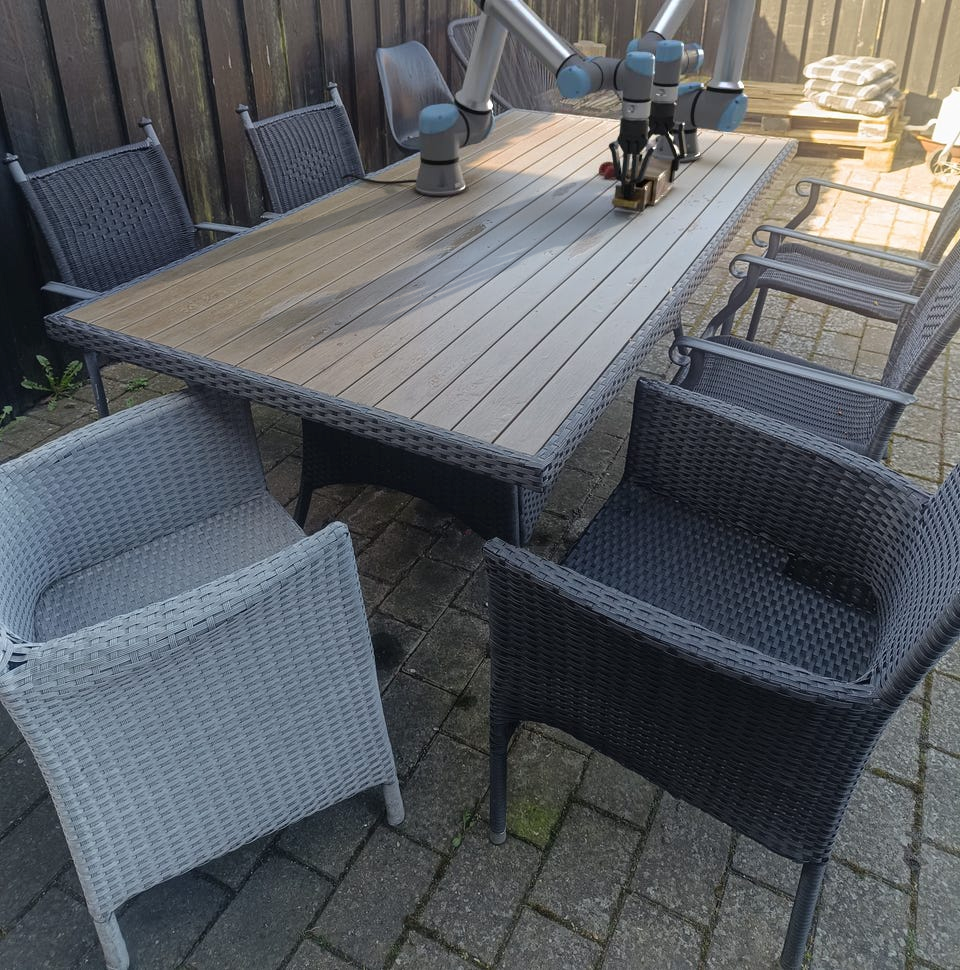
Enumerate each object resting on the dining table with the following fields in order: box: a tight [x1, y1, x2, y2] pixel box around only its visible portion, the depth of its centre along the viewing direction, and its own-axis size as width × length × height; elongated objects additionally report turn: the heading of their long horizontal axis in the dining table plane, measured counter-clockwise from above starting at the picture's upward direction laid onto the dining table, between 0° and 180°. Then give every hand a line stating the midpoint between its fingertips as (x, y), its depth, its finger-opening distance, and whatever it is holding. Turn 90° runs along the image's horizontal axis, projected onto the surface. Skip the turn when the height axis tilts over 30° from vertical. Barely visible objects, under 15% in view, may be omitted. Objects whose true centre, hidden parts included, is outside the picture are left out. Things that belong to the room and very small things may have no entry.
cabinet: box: [628, 157, 675, 206], centre depth 252 cm, size 20×10×8 cm, turn 154°
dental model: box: [598, 161, 615, 179], centre depth 269 cm, size 6×4×8 cm
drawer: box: [611, 177, 654, 212], centre depth 243 cm, size 24×9×6 cm, turn 154°
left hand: (626, 206), depth 238 cm, fingers closed
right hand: (654, 179), depth 257 cm, fingers closed on cabinet, 10 cm apart
